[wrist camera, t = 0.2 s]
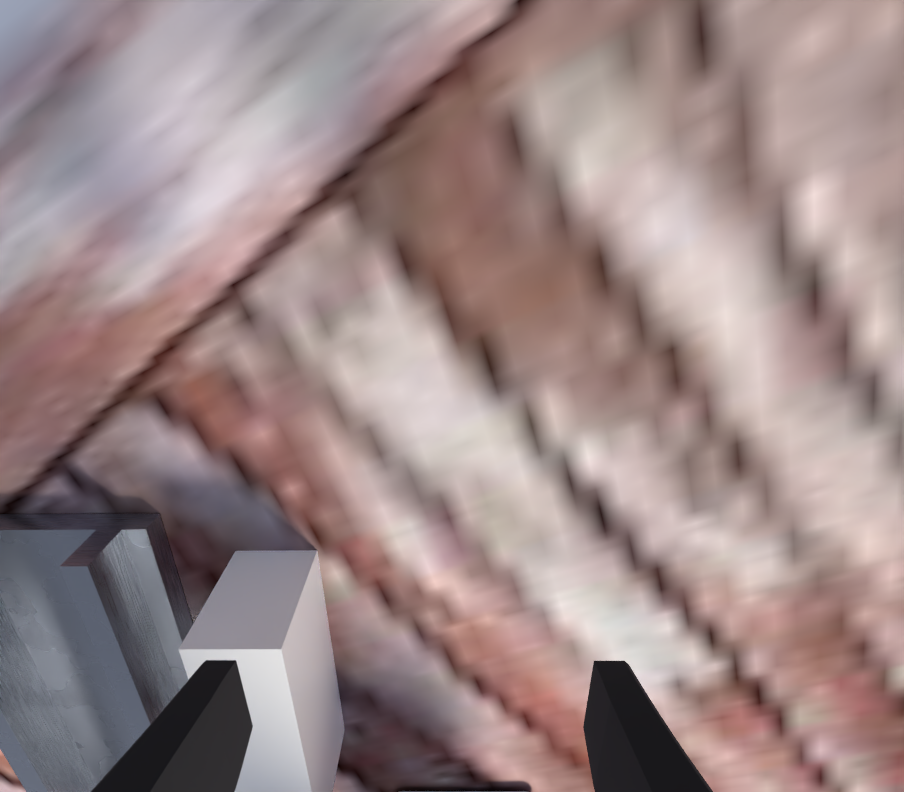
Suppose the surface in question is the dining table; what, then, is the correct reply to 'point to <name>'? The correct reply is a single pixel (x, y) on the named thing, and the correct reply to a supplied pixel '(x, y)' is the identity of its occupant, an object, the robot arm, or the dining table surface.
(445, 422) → the dining table surface
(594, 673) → the robot arm
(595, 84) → the dining table surface
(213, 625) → the grey metal bar
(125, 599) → the grey u-channel tray
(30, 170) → the dining table surface
